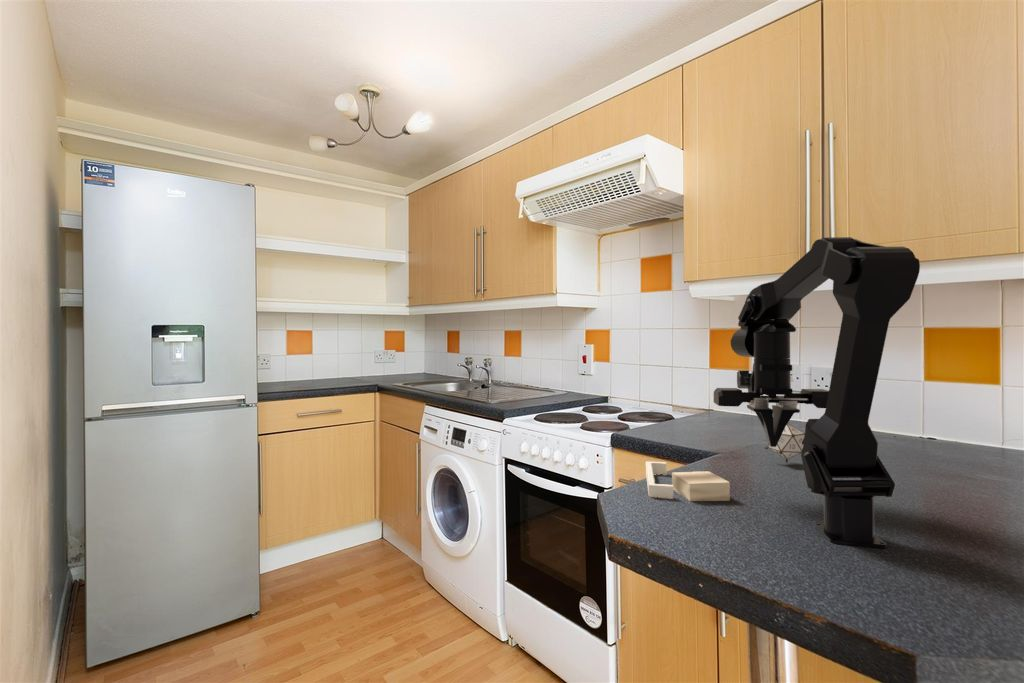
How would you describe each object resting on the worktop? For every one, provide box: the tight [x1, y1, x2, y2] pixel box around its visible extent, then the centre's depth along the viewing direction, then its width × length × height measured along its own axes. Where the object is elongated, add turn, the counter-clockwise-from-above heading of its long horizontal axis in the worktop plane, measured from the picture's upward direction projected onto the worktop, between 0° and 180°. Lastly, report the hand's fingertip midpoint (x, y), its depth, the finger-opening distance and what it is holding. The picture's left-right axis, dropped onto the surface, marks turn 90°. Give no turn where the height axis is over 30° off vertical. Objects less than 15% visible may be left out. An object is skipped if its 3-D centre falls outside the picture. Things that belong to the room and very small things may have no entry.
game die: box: [764, 422, 805, 464], centre depth 109 cm, size 9×8×10 cm
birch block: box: [671, 470, 731, 502], centre depth 85 cm, size 7×7×4 cm
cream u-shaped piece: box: [645, 461, 674, 500], centre depth 91 cm, size 17×4×3 cm, turn 166°
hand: (772, 446), depth 86 cm, fingers closed
